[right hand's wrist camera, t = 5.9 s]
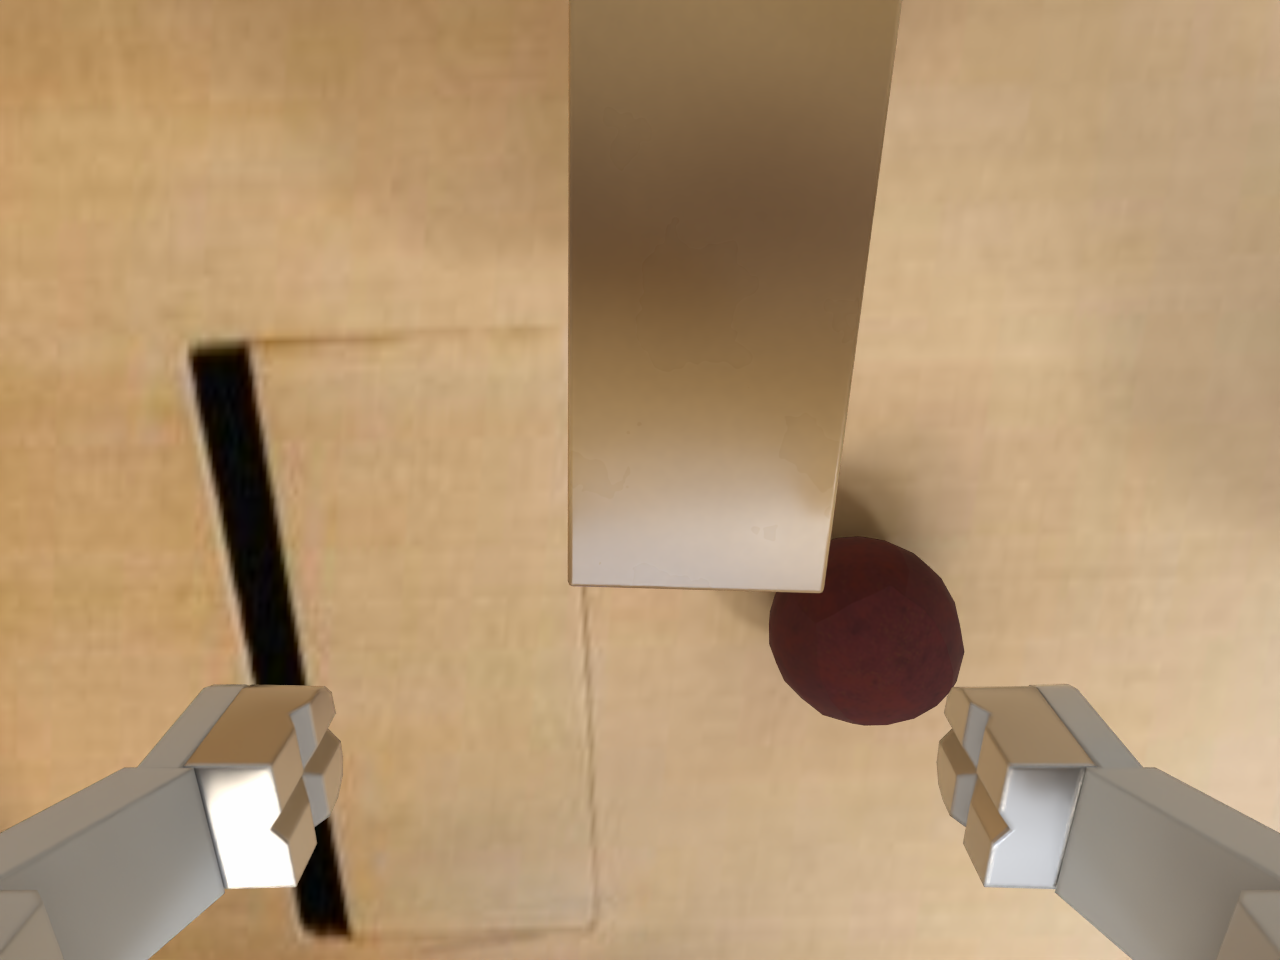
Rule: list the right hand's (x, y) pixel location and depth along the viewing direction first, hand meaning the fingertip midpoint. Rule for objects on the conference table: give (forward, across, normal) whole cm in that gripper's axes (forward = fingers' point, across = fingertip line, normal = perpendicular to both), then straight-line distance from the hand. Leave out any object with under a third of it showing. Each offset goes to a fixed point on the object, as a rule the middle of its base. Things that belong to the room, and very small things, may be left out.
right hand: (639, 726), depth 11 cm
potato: (+23, -9, +11) cm, 27 cm away
